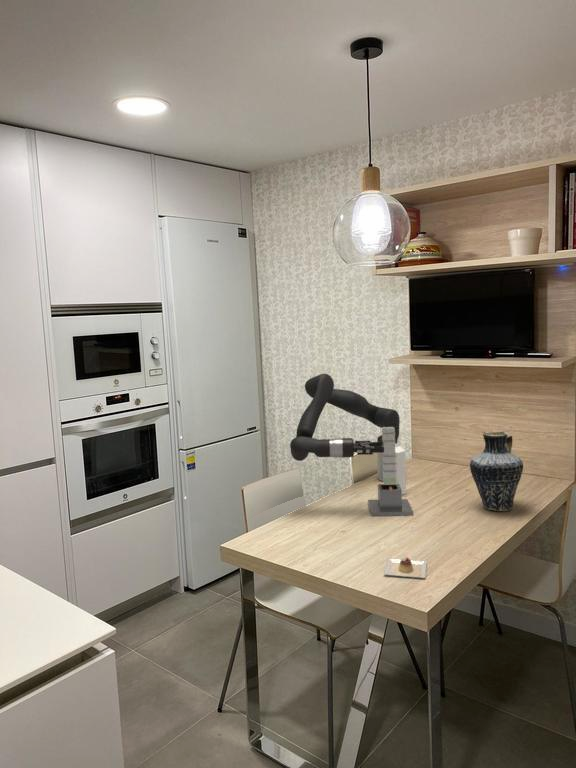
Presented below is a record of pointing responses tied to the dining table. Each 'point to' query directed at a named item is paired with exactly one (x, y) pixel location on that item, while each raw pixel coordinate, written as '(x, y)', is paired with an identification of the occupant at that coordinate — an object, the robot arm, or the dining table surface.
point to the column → (389, 455)
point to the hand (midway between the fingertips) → (382, 447)
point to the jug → (497, 471)
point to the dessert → (405, 566)
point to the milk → (400, 467)
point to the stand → (389, 502)
